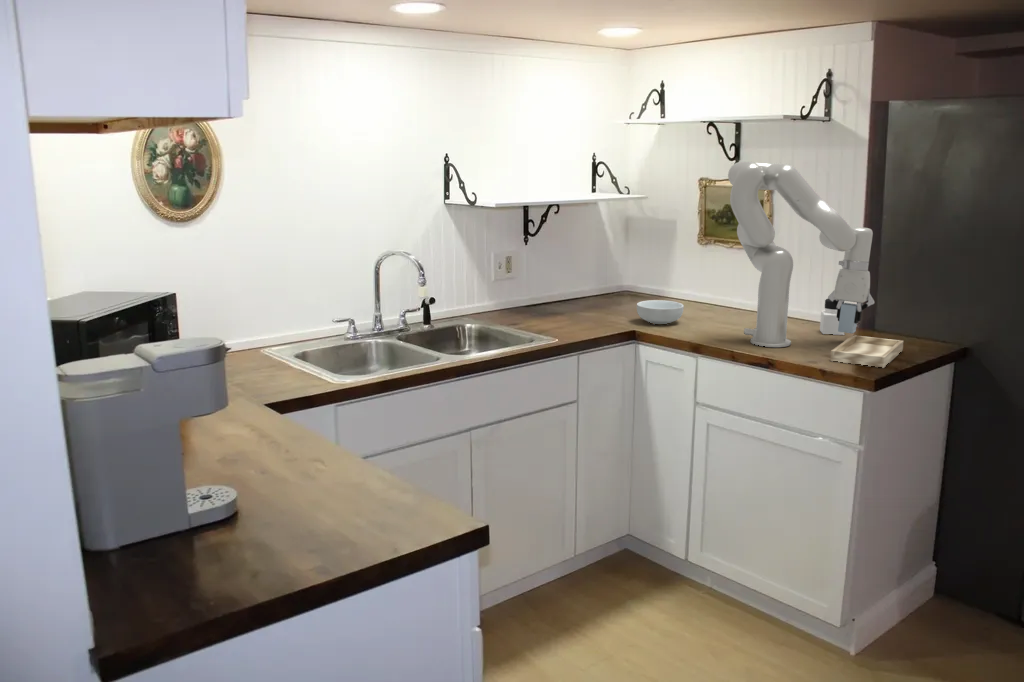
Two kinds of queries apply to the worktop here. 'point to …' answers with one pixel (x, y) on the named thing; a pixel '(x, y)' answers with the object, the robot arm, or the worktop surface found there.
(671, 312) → the cereal bowl
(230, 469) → the worktop surface
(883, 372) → the worktop surface
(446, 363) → the worktop surface
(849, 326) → the block
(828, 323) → the medicine bottle
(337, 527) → the worktop surface
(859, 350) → the tray
